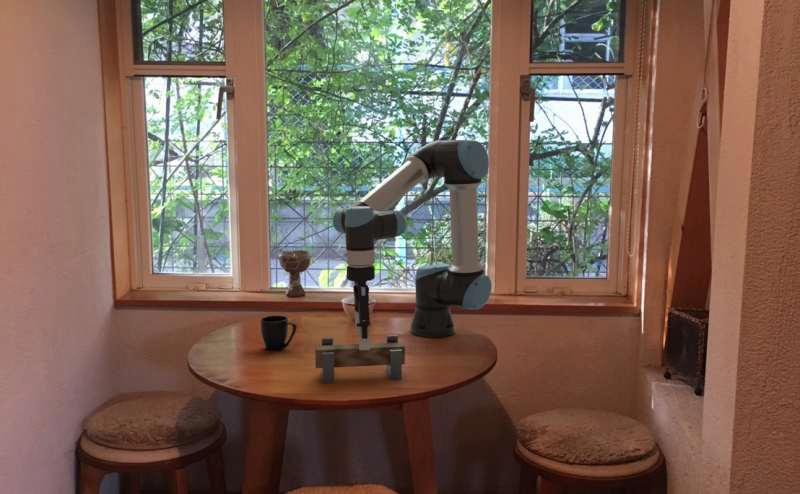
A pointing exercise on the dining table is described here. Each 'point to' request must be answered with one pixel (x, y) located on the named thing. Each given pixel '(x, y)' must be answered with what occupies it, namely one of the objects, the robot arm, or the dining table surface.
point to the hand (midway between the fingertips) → (362, 341)
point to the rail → (359, 354)
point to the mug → (276, 332)
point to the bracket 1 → (328, 362)
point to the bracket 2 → (394, 360)
